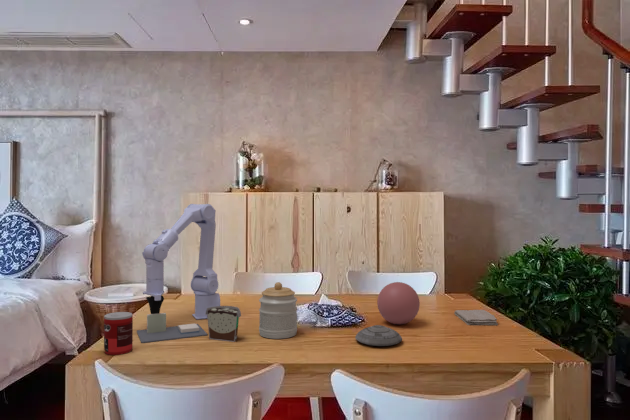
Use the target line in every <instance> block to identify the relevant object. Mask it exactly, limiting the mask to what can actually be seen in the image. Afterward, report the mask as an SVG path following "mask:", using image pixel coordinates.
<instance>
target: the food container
mask: <svg viewBox="0 0 630 420" xmlns="http://www.w3.org/2000/svg"><path fill="white" fill-rule="evenodd" d="M206 314H207V318H206V319H207V326H208V328H207V330H208V339H209V340H215V341H225V342H232V343H233V342H234V343H235V342H237V339H238V331H239V319H240V317H242V313H241V310H240V307H237V306H233V305H220V306H215V307H210V308H207V310H206Z"/></svg>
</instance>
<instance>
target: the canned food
mask: <svg viewBox="0 0 630 420" xmlns="http://www.w3.org/2000/svg"><path fill="white" fill-rule="evenodd" d="M133 318H134V317H133V313H132V312H128V311H116V312H110V313H106V314H104V315H103V351H104V353H105V354H106V355H108V356H120V355H125V354H128V353H131V352H132V351H133V345H134V344H133V342H134V341H133V338H134V337H133V327H134V326H133V323H134V322H133V321H134V320H133Z"/></svg>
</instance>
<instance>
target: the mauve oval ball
mask: <svg viewBox="0 0 630 420" xmlns="http://www.w3.org/2000/svg"><path fill="white" fill-rule="evenodd" d="M420 302H421V301H420V297H419V295H418V293H417V291H416V290H415V288H414V287H412V285H409V284H407V283H405V282H399V281H396V282H395V281H394V282H391V283H388V284H387V285H385V286H384V287H382V289H381V290H380V291H379V294H378V295H377V309H378V312H379V314H380V315H381V317H382V318H383V319H385V321H386V322H388V323H390V324H393V325H406V324H408V323H410V322H412V321H413V320H414V319H415V318H416V317H417V315H418V313H419V311H420V307H421V306H420V305H421V304H420Z"/></svg>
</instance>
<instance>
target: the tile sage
mask: <svg viewBox="0 0 630 420" xmlns="http://www.w3.org/2000/svg"><path fill="white" fill-rule="evenodd" d="M166 327H167V313H166V312H160V313H158V314H151V313H150V314H148V313H147V314H146V329H147V333H154V332H163V331H166Z"/></svg>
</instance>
